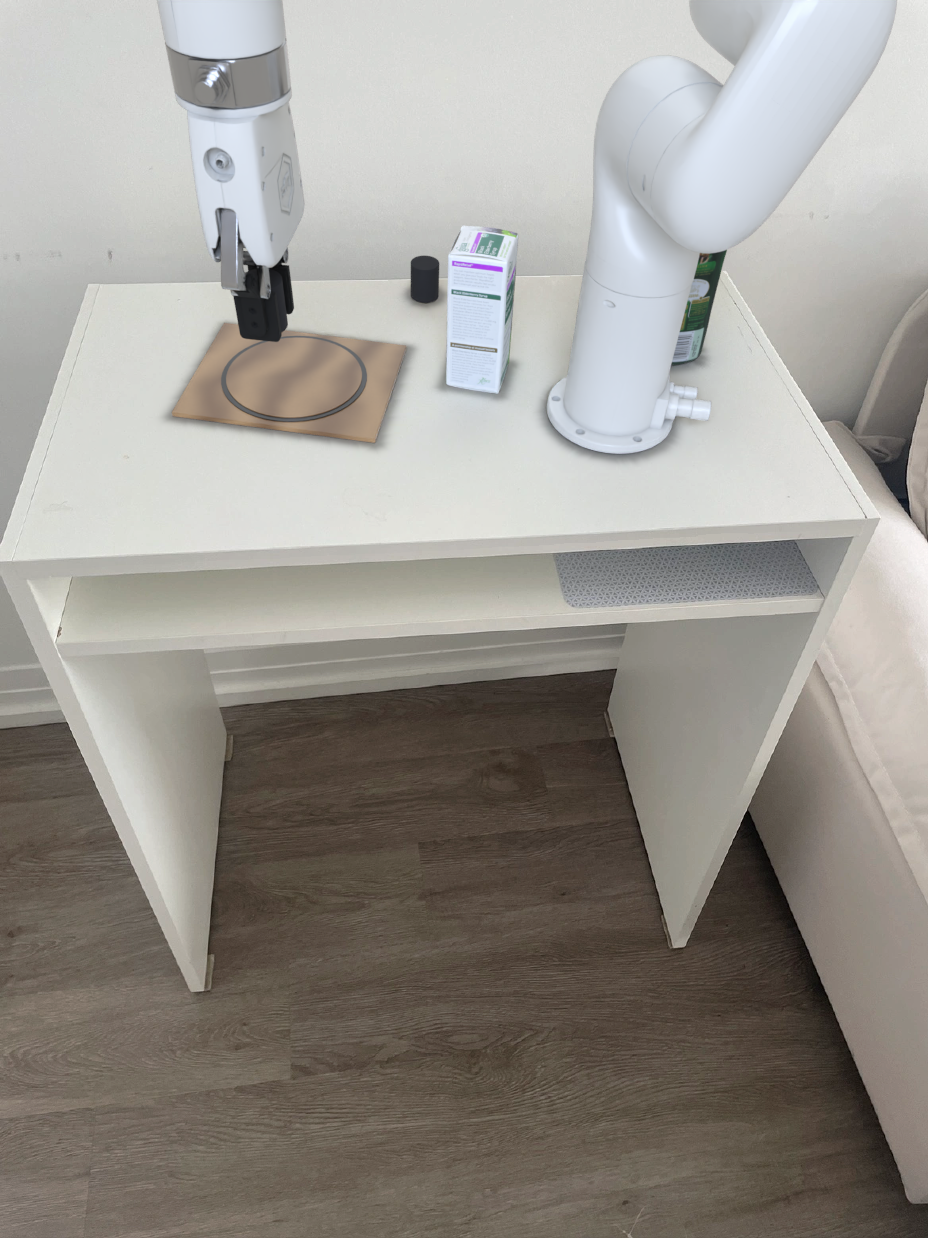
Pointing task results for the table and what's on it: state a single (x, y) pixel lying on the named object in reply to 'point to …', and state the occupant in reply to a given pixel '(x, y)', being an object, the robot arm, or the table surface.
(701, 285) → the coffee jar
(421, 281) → the black cylinder
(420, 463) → the table surface
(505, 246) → the syrup box
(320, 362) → the sketch board
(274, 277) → the black cylindrical block
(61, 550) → the table surface
